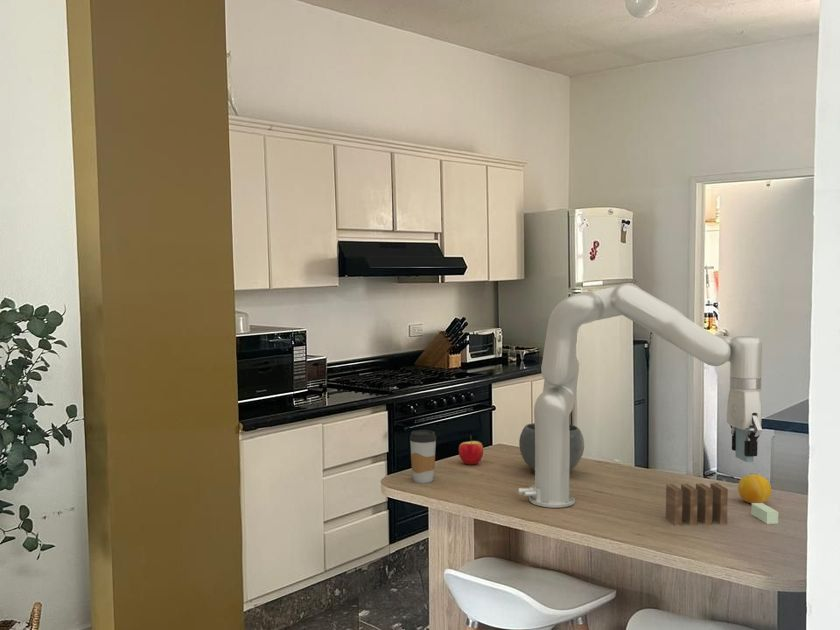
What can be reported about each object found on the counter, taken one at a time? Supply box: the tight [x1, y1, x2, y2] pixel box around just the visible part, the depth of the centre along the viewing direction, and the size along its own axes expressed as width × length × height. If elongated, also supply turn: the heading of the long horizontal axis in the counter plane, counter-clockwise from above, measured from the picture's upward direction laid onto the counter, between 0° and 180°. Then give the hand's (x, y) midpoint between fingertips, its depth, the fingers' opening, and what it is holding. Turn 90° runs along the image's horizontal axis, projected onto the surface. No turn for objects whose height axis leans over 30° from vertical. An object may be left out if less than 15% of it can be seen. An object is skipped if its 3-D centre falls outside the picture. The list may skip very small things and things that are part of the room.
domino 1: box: [665, 483, 683, 526], centre depth 207 cm, size 2×6×9 cm, turn 5°
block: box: [750, 503, 779, 525], centre depth 209 cm, size 3×8×3 cm, turn 5°
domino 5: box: [735, 427, 754, 463], centre depth 207 cm, size 2×6×9 cm, turn 5°
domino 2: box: [680, 483, 698, 526], centre depth 207 cm, size 2×6×9 cm, turn 5°
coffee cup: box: [409, 429, 437, 484], centre depth 247 cm, size 8×8×15 cm
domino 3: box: [695, 483, 713, 525], centre depth 207 cm, size 2×6×9 cm, turn 5°
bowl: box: [518, 422, 585, 472], centre depth 256 cm, size 20×20×15 cm
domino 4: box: [709, 482, 729, 525], centre depth 208 cm, size 2×6×9 cm, turn 5°
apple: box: [458, 435, 484, 465], centre depth 268 cm, size 8×8×10 cm
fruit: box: [737, 473, 772, 504], centre depth 223 cm, size 9×8×8 cm
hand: (744, 452), depth 207 cm, fingers closed on domino 5, 6 cm apart
